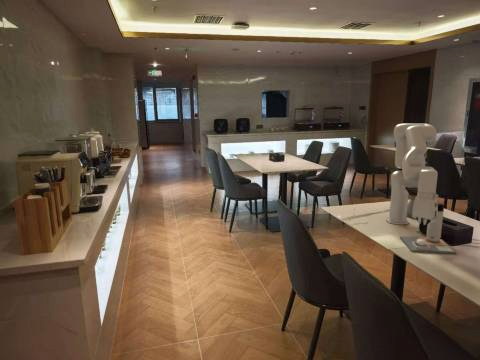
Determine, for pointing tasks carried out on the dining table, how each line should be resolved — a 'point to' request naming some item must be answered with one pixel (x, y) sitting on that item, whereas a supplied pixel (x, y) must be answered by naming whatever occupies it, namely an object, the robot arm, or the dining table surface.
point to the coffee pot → (410, 205)
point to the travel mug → (435, 227)
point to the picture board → (427, 246)
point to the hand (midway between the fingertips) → (422, 231)
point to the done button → (421, 242)
